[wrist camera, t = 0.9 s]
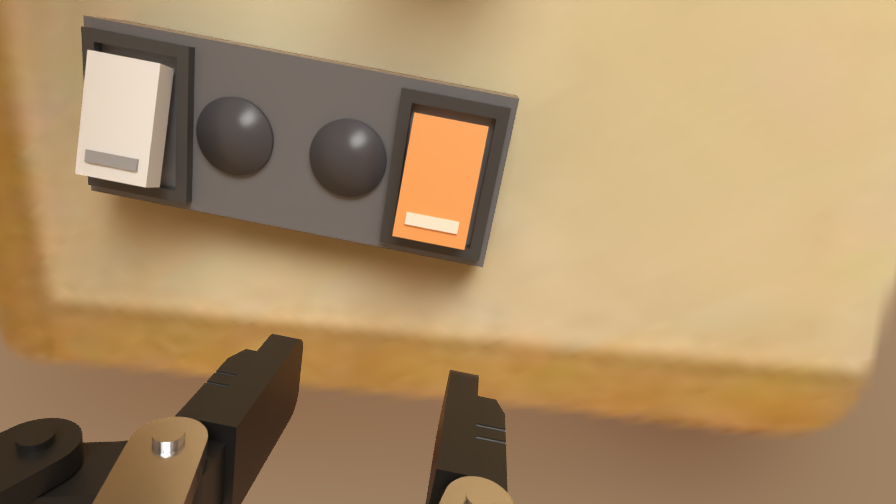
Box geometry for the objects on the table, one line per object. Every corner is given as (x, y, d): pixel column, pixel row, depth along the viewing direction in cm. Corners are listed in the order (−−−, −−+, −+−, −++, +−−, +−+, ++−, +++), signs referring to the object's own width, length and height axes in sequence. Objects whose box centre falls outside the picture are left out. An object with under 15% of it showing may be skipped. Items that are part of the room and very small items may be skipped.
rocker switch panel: (122, 20, 30) (74, 14, 26) (516, 95, 29) (519, 99, 26) (126, 179, 33) (83, 192, 29) (483, 249, 32) (482, 271, 29)
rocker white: (104, 55, 27) (85, 48, 26) (174, 68, 27) (158, 63, 26) (91, 174, 28) (72, 173, 27) (159, 187, 28) (144, 187, 26)
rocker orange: (416, 115, 27) (413, 112, 26) (487, 129, 27) (488, 126, 25) (395, 233, 28) (391, 236, 26) (464, 247, 28) (464, 250, 26)
